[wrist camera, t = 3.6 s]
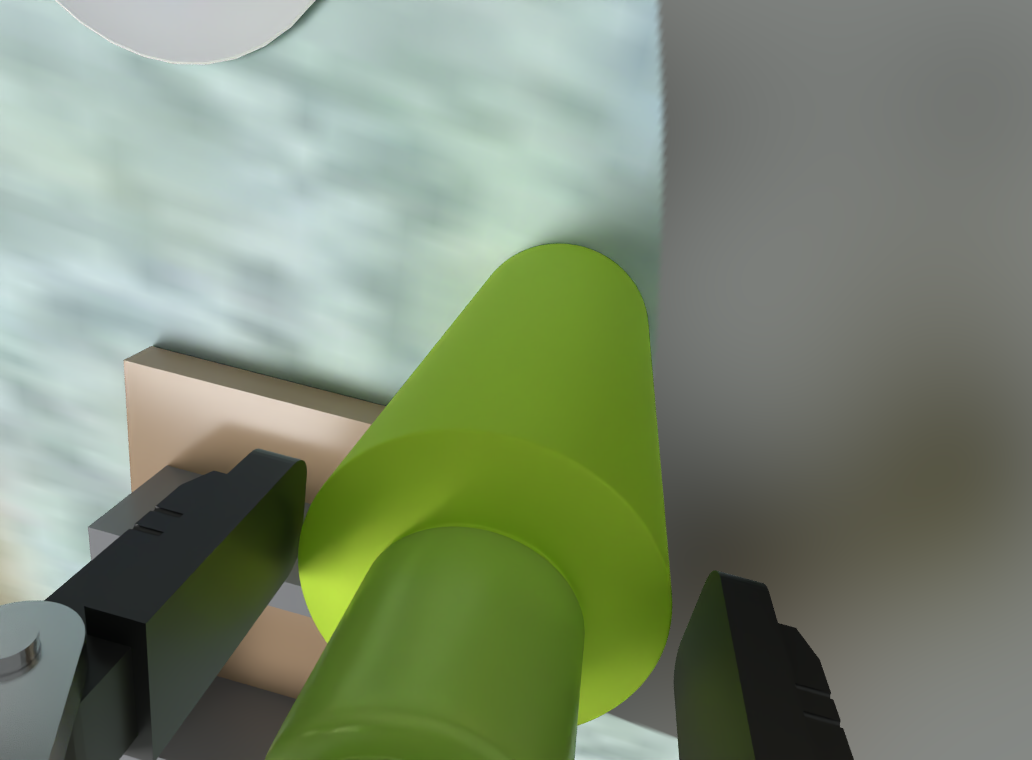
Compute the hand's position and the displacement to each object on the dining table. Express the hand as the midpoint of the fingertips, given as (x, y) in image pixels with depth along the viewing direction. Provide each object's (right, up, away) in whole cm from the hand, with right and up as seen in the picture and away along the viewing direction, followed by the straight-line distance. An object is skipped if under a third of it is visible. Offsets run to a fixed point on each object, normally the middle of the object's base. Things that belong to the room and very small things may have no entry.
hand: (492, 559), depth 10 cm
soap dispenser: (+2, +5, +12) cm, 13 cm away
